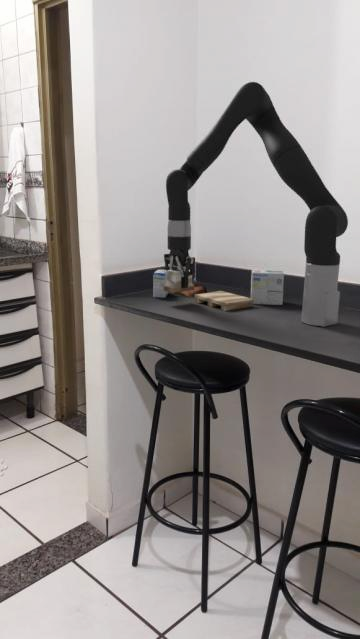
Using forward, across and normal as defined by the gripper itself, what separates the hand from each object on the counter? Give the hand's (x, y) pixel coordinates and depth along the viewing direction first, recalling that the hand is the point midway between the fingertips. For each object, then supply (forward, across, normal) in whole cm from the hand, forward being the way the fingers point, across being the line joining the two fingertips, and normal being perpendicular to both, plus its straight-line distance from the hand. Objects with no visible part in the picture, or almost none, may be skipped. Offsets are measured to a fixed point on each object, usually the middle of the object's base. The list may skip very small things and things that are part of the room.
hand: (179, 286), depth 169 cm
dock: (+6, -8, -12) cm, 16 cm away
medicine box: (+6, +14, -3) cm, 16 cm away
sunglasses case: (+6, +15, -13) cm, 21 cm away
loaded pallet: (+1, 0, 0) cm, 1 cm away
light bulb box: (+6, -15, -26) cm, 30 cm away
